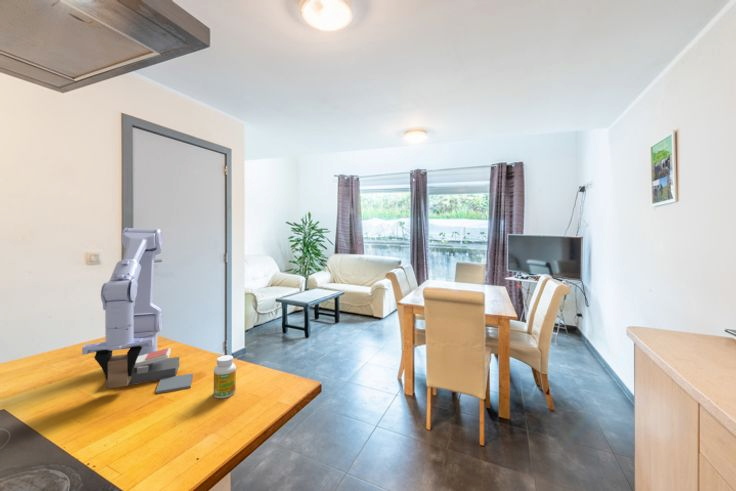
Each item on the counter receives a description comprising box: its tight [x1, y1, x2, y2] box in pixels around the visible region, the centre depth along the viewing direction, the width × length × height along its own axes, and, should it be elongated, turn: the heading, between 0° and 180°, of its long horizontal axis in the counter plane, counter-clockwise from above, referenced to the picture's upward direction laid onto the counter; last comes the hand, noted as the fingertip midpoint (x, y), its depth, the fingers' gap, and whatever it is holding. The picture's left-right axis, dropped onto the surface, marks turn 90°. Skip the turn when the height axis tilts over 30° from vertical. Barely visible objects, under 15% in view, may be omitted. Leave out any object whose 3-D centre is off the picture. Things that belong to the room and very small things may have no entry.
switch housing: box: [105, 356, 180, 389], centre depth 89 cm, size 9×16×4 cm, turn 116°
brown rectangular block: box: [107, 353, 131, 389], centre depth 79 cm, size 4×4×7 cm
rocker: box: [134, 347, 172, 368], centre depth 89 cm, size 6×12×1 cm, turn 116°
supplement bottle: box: [213, 354, 237, 399], centre depth 80 cm, size 5×5×10 cm
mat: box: [155, 373, 194, 394], centre depth 85 cm, size 8×8×1 cm
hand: (119, 376), depth 79 cm, fingers closed on brown rectangular block, 4 cm apart
